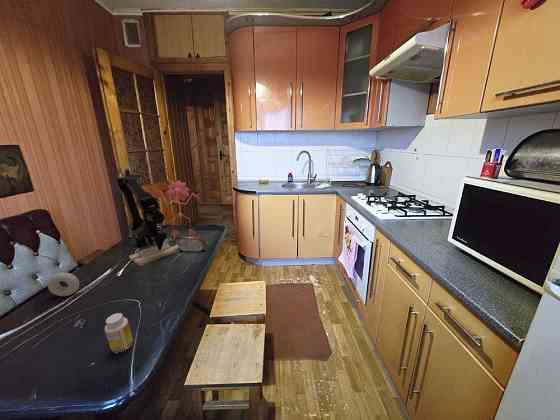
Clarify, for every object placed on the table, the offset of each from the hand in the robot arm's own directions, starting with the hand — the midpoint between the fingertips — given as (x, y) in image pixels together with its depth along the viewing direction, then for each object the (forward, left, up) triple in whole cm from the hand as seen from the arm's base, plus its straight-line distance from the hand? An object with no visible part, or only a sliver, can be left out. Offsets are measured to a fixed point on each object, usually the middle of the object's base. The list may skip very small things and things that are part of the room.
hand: (155, 247), depth 124 cm
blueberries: (+30, -39, -4) cm, 49 cm away
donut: (+6, -38, -4) cm, 39 cm away
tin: (+13, +13, -4) cm, 19 cm away
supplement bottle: (+51, -34, -4) cm, 61 cm away
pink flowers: (-9, +22, -4) cm, 24 cm away
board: (0, 0, -4) cm, 4 cm away
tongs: (0, +1, -2) cm, 2 cm away
